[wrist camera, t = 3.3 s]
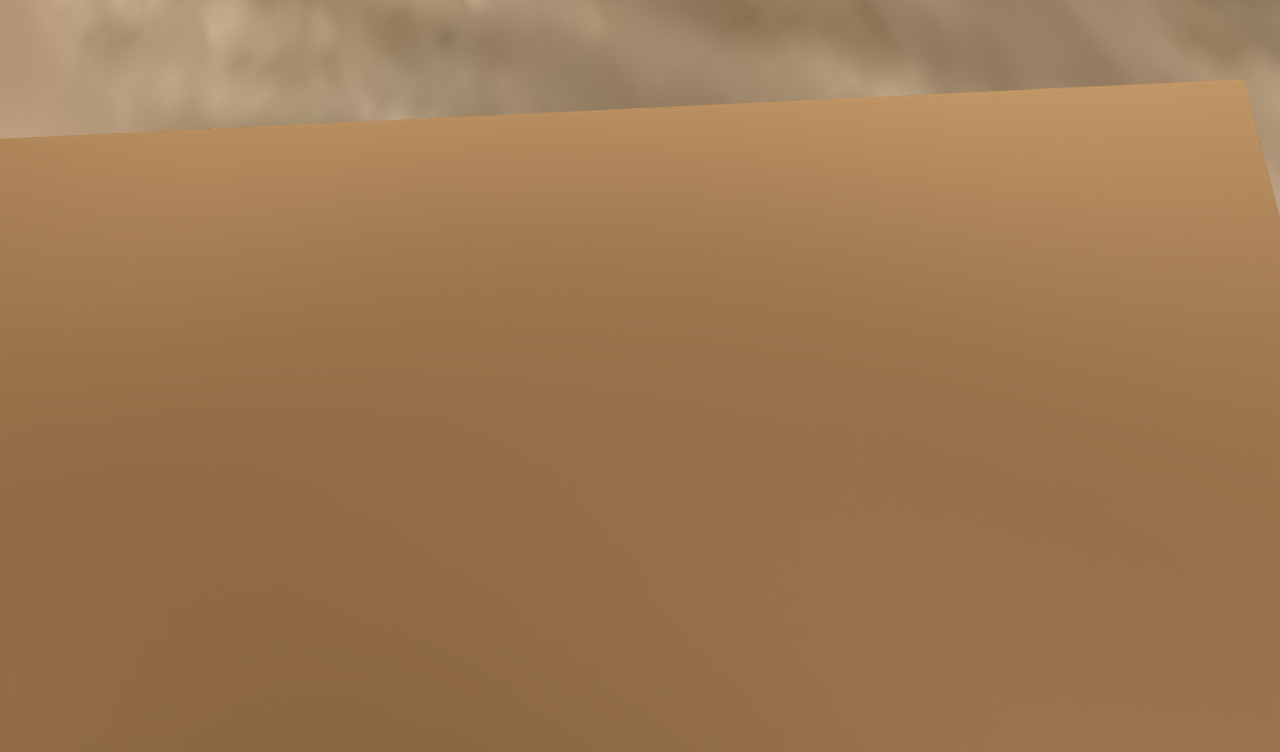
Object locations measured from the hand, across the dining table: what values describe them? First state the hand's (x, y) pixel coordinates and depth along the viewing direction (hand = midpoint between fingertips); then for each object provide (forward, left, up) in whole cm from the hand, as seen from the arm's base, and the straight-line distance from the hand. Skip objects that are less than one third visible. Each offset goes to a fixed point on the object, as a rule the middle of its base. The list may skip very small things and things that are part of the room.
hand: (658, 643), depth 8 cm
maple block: (0, 0, -7) cm, 7 cm away
